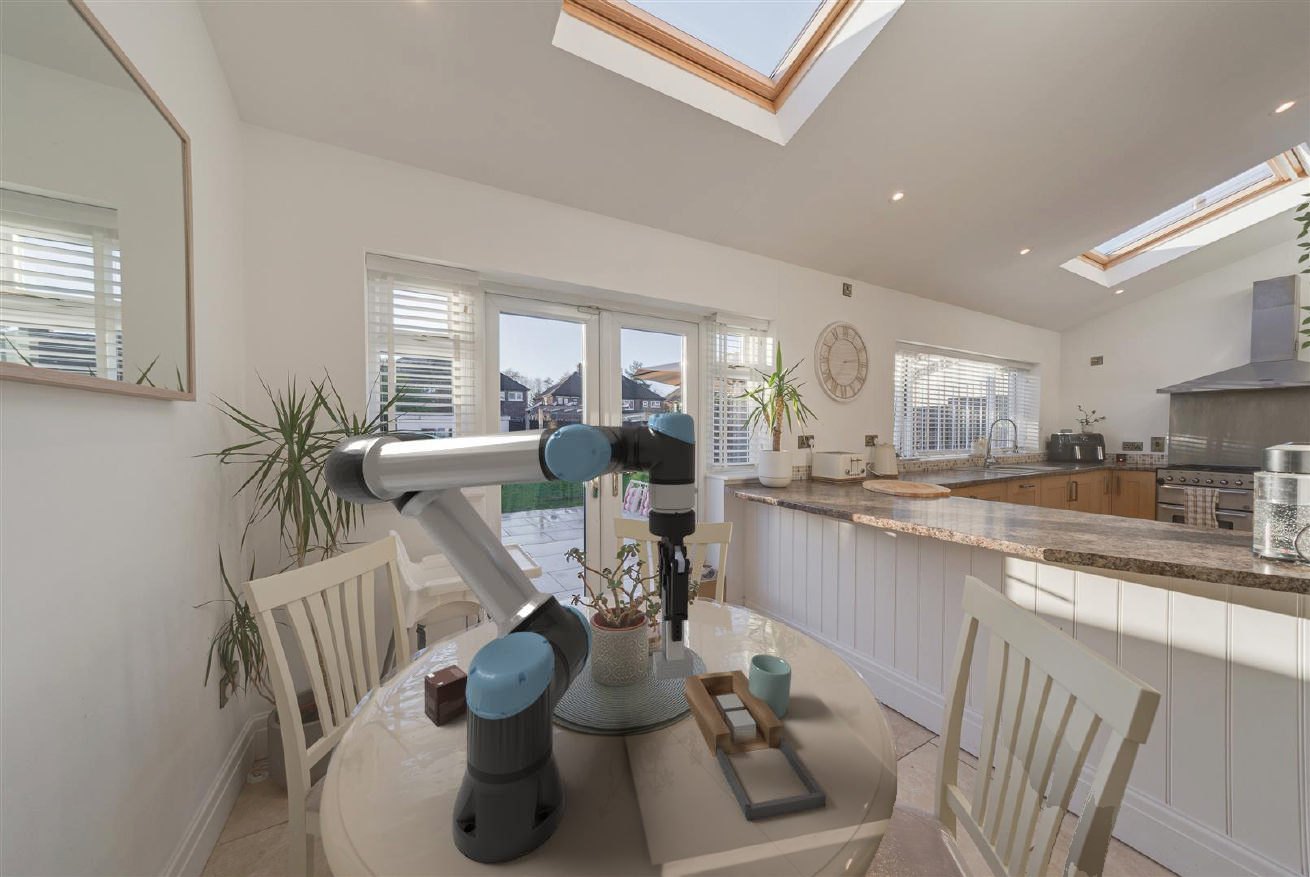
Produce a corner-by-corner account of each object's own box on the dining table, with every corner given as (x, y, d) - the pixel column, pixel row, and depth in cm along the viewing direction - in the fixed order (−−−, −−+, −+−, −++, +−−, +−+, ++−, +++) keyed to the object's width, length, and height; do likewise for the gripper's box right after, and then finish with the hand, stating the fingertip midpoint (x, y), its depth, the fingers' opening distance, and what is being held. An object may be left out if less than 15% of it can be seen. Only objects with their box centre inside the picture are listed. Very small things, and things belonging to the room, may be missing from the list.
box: (468, 712, 86) (468, 675, 86) (436, 727, 82) (436, 687, 82) (455, 699, 91) (455, 663, 90) (423, 713, 86) (423, 675, 86)
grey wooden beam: (656, 680, 71) (656, 592, 70) (653, 670, 73) (652, 585, 73) (693, 676, 72) (692, 589, 71) (688, 667, 75) (688, 583, 74)
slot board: (712, 765, 73) (713, 735, 73) (683, 700, 91) (683, 676, 91) (785, 754, 76) (785, 725, 76) (742, 693, 94) (743, 669, 94)
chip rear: (723, 725, 81) (723, 709, 81) (715, 711, 85) (716, 696, 85) (744, 722, 82) (744, 706, 82) (735, 709, 86) (735, 693, 86)
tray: (746, 831, 61) (747, 809, 61) (716, 767, 73) (716, 748, 73) (825, 816, 64) (825, 795, 64) (784, 756, 75) (784, 739, 75)
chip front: (734, 744, 76) (734, 726, 76) (725, 728, 80) (725, 712, 80) (755, 741, 77) (756, 723, 77) (746, 726, 81) (746, 709, 81)
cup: (788, 732, 82) (793, 678, 82) (745, 723, 83) (750, 669, 84) (785, 708, 90) (789, 658, 90) (745, 700, 91) (750, 651, 91)
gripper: (709, 517, 65) (709, 677, 65) (682, 500, 81) (683, 629, 81) (658, 519, 64) (659, 682, 64) (641, 502, 80) (642, 633, 80)
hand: (672, 652), depth 73 cm, fingers closed on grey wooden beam, 3 cm apart
